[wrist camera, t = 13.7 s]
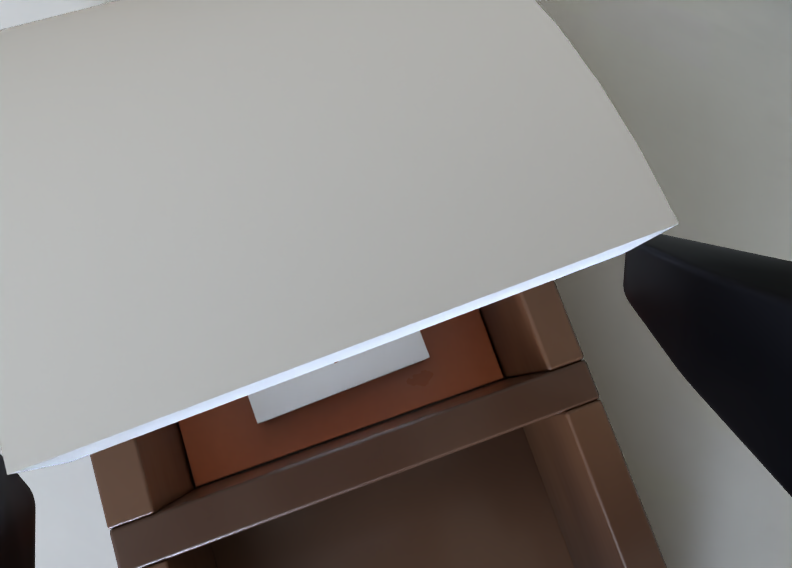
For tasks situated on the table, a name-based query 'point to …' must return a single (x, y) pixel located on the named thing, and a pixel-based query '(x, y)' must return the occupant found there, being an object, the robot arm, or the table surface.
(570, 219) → the headphone stand
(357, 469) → the divided wooden tray
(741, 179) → the table surface
